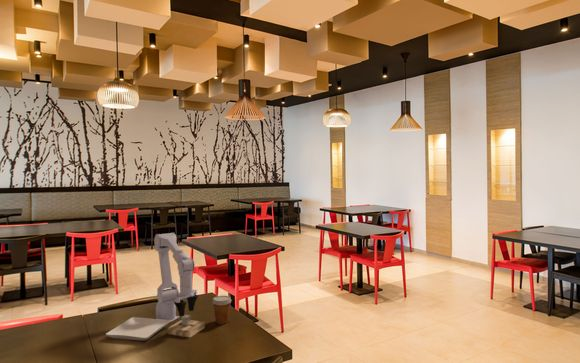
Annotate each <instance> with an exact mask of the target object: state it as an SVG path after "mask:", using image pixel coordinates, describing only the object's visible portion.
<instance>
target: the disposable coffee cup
mask: <svg viewBox="0 0 580 363" xmlns="http://www.w3.org/2000/svg"><path fill="white" fill-rule="evenodd" d="M231 303H232V299H231V296H229V295H217V296H215V297H213V298H212V304H213V310H214V311H213V312H214V317H215V318H214V319H215V323H216V324H217V323H218V324H219V325H225V324H228V323H229V321H230V320H229V319H230V312H231V311H230V310H231ZM227 322H228V323H227ZM224 323H225V324H224Z"/></svg>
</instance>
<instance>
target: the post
mask: <svg viewBox="0 0 580 363" xmlns="http://www.w3.org/2000/svg"><path fill="white" fill-rule="evenodd" d="M181 320H182V326H187V327H188V326H189V325H190V324H191V320H192V315H191V314H184V316H181Z"/></svg>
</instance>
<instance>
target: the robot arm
mask: <svg viewBox="0 0 580 363" xmlns="http://www.w3.org/2000/svg"><path fill="white" fill-rule="evenodd" d="M177 239H178V238H177V235H176V234H175V232H170V233H169V232H168V233H161V234H160V233H157V234H155V236H154V238H153V241H154V248H155V251H156V252H158V260H159V268H160V276H161V284H160V285H159V286H158V287H157V292H156V293H157V294H156V299H157V301H158V302H157V303H156V306H155V319H161V320H169V321H170V322H169V323H172V322H174V321H175V320H177V319H180V317H182V316H184V315H185V309H186V304H188V305H187V306H188V311H190V312H193V311H194V310H195V304H196V303H197V302H196V301H197V299H198V298H199V295H198V292H197V289H193V271H194V270H195V264H196V263H195V261H194V259H193V258H192V257H189V256H188V255H187V254H186V252H185V251H184V250H183V249H180V246H179V245H178V243H177ZM169 251H170V252H171V253H172V258H173V259H174V261H175V264H177V272H178V276H179V288H178V284H177V283H175V282H173V279H172V278H173V277H172V271H171V263H170V262H171V261H170V255H169ZM185 299H186V300H187V301H184V300H185ZM176 309H177V311H176ZM177 312H178V315H176V314H177Z"/></svg>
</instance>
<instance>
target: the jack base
mask: <svg viewBox="0 0 580 363" xmlns="http://www.w3.org/2000/svg"><path fill="white" fill-rule="evenodd" d="M204 329H205V321H200V320H195V319H194V320H193V319H191V324H190V325H189V326H188V327H187V326H182V319H181V320H179V321H177V322H176V323H174V324H172V325H170V326H169V327H167V334H168V335H172V336H177V337H183V338H188V339H189V338H192V337H194V336H195V335H196V334H198V333H200V332H201V331H202V330H204Z"/></svg>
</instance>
